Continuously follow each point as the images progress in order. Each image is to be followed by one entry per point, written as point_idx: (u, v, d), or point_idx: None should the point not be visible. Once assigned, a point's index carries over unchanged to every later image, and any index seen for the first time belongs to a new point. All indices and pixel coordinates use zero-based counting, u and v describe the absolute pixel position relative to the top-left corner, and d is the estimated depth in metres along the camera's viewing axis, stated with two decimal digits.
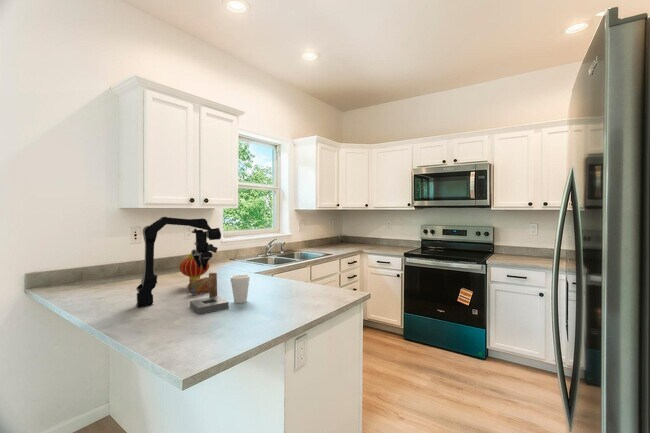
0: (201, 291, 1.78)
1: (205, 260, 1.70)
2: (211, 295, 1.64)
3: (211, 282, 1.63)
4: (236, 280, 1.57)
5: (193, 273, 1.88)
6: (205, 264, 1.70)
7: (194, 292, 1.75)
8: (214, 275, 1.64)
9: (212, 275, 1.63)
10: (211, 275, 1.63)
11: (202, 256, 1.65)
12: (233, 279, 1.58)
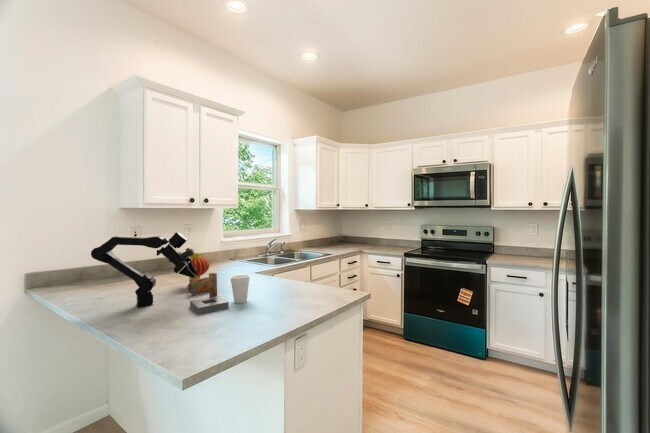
0: (201, 291, 1.78)
1: (186, 270, 1.57)
2: (211, 295, 1.64)
3: (211, 282, 1.63)
4: (236, 280, 1.57)
5: (193, 273, 1.88)
6: (189, 273, 1.57)
7: (194, 292, 1.75)
8: (214, 275, 1.64)
9: (212, 275, 1.63)
10: (211, 275, 1.63)
11: (176, 271, 1.52)
12: (233, 279, 1.58)
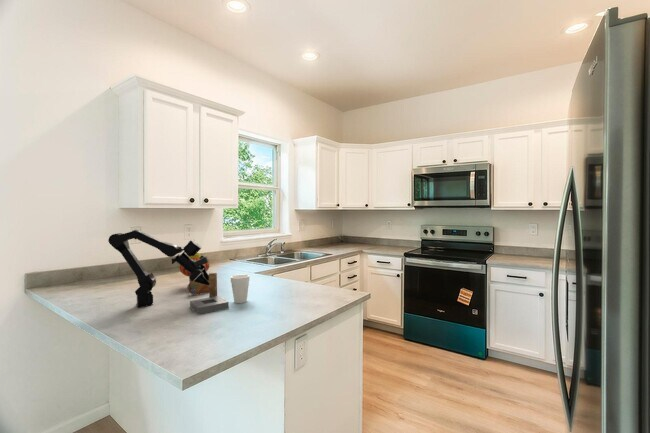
0: (201, 291, 1.78)
1: (201, 278, 1.58)
2: (211, 295, 1.64)
3: (211, 282, 1.63)
4: (236, 280, 1.57)
5: None
6: (204, 280, 1.59)
7: (194, 292, 1.75)
8: (214, 275, 1.64)
9: (212, 275, 1.63)
10: (211, 275, 1.63)
11: (191, 279, 1.54)
12: (233, 279, 1.58)
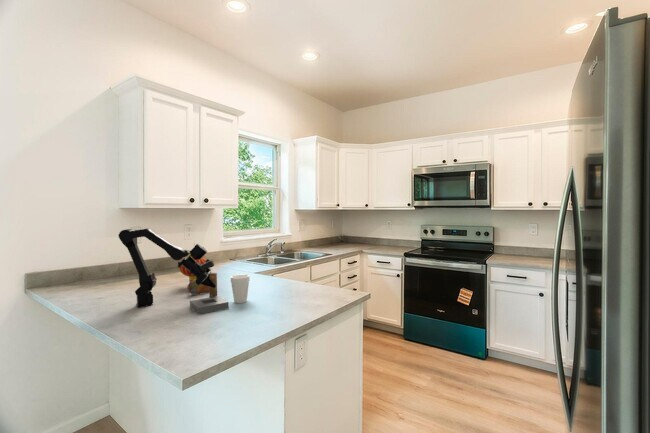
0: (201, 291, 1.78)
1: (207, 280, 1.61)
2: (211, 295, 1.64)
3: None
4: (236, 280, 1.57)
5: None
6: (210, 283, 1.62)
7: (194, 292, 1.75)
8: (214, 275, 1.64)
9: (212, 275, 1.63)
10: (211, 275, 1.63)
11: (198, 283, 1.55)
12: (233, 279, 1.58)
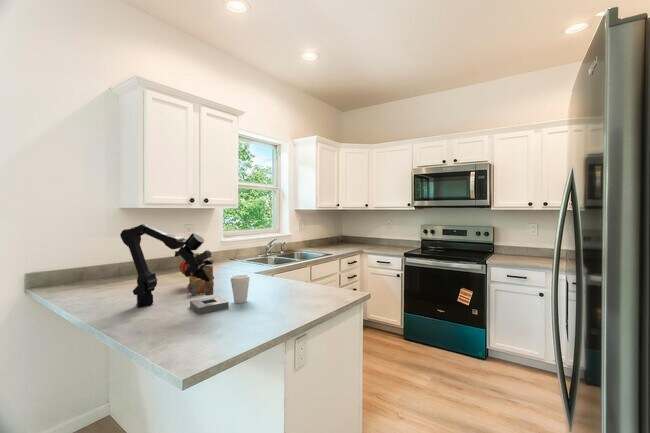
0: (201, 291, 1.78)
1: (200, 273, 1.49)
2: (205, 289, 1.51)
3: None
4: (236, 280, 1.57)
5: None
6: (203, 276, 1.49)
7: (194, 292, 1.75)
8: (208, 268, 1.50)
9: (206, 268, 1.50)
10: (205, 267, 1.50)
11: (186, 275, 1.44)
12: (233, 279, 1.58)
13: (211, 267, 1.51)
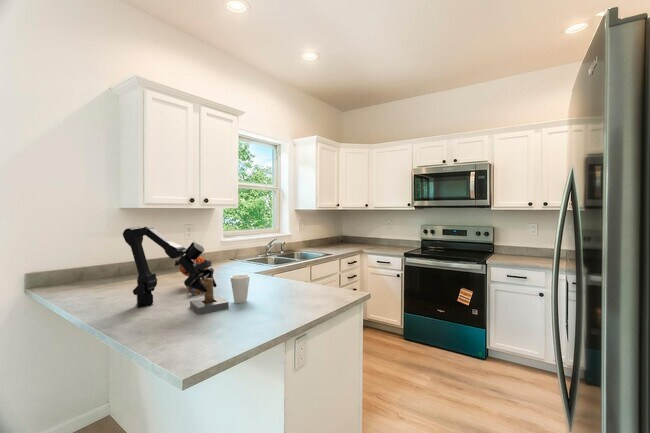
0: (201, 291, 1.78)
1: (197, 283, 1.47)
2: (205, 303, 1.51)
3: (206, 288, 1.50)
4: (236, 280, 1.57)
5: None
6: (201, 287, 1.47)
7: (194, 292, 1.75)
8: (208, 281, 1.50)
9: (206, 281, 1.50)
10: (205, 281, 1.50)
11: (186, 284, 1.44)
12: (233, 279, 1.58)
13: (211, 280, 1.51)
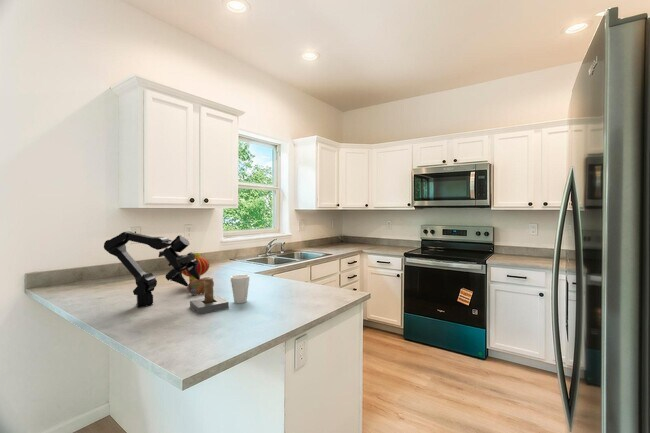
0: (201, 291, 1.78)
1: (179, 277, 1.49)
2: (205, 302, 1.51)
3: (206, 288, 1.50)
4: (236, 280, 1.57)
5: None
6: (182, 281, 1.49)
7: (194, 292, 1.75)
8: (208, 281, 1.50)
9: (206, 281, 1.50)
10: (205, 281, 1.50)
11: (167, 278, 1.47)
12: (233, 279, 1.58)
13: (211, 280, 1.51)
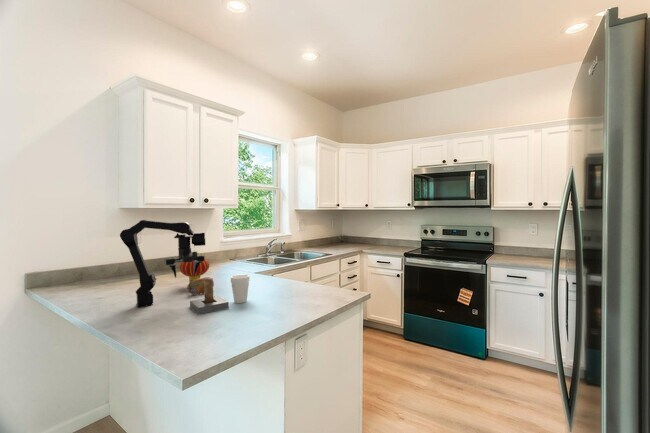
0: (201, 291, 1.78)
1: None
2: (205, 303, 1.51)
3: (206, 288, 1.50)
4: (236, 280, 1.57)
5: (193, 273, 1.88)
6: (173, 271, 1.60)
7: (194, 292, 1.75)
8: (208, 281, 1.50)
9: (206, 281, 1.50)
10: (205, 281, 1.50)
11: (164, 262, 1.59)
12: (233, 279, 1.58)
13: (211, 280, 1.51)
